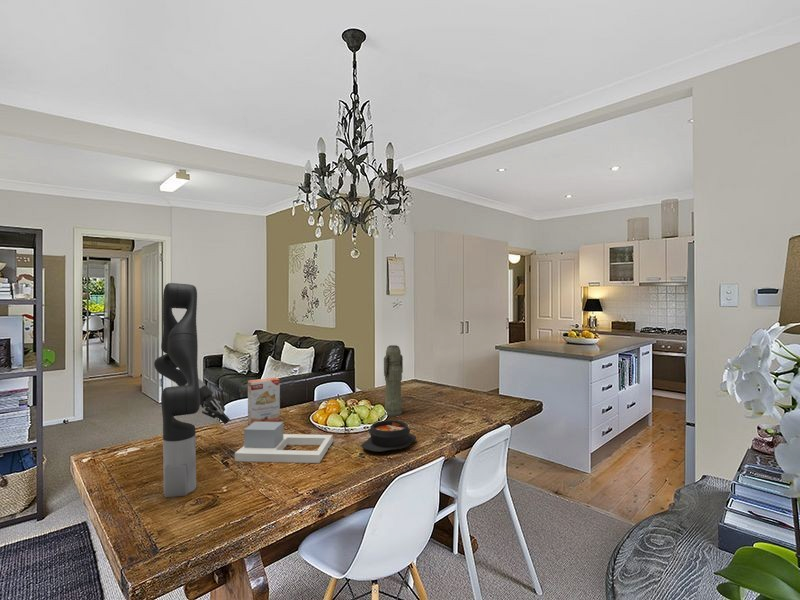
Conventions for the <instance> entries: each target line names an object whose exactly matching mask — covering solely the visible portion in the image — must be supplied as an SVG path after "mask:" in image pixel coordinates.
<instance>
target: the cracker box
mask: <svg viewBox="0 0 800 600" xmlns="http://www.w3.org/2000/svg"><path fill="white" fill-rule="evenodd" d="M280 381H281V380H280V379H279V378H278V377H276V376H275V377H268V378H260V379H251V380H247V424H248V425H251V424H252V423H253V422H281V421H280V419H281V418H280V417H281V415H280V412H281V407H280V406H281V404H280V403H281V400H280V399H281V394H280V393H281V392H280V391H281V390H280V389H281V388H280V387H281V382H280Z"/></svg>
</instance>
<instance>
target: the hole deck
mask: <svg viewBox="0 0 800 600" xmlns="http://www.w3.org/2000/svg"><path fill="white" fill-rule="evenodd" d="M333 438H334V437H333V434H308V433H307V434H300V433H299V434H297V433H296V434H295V433H283V440H282V441H281V442H280V443H279V444H278V445H277V446H276V447H275V448H248V447H244V445H243V446H242V447H240V448H239V449H237V450H236V451H235V452H234V462H251V463H252V462H255V463H259V462H260V463H293V464H294V463H295V464H296V463H297V464H298V463H300V464H302V463H303V464H304V463H307V464H320V463H321V461H322V459H324V457H325V454H326V453H327V452H328V450H329V449H330V447H331V445H332V444H333V441H334V439H333ZM289 445H290V446H291V445H292V446H319V447H318V448H317V450H293V449H292V450H288V449H285V448H286V447H287V446H289ZM328 448H329V449H328Z"/></svg>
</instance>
